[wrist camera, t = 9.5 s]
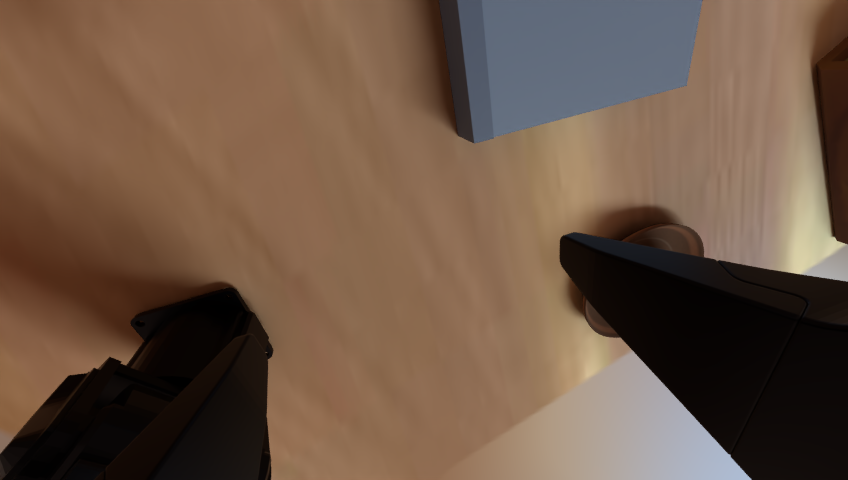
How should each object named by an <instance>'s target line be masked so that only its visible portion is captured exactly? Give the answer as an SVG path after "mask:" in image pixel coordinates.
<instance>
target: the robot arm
mask: <svg viewBox="0 0 848 480" xmlns="http://www.w3.org/2000/svg"><path fill="white" fill-rule="evenodd" d="M560 263H561V265H562V267H563V269H564V270H565V271H566V273H567V274H568V275H569V277H570V278H571V279H572V281H573V282H574V283H575V285H576V286H577V287H578V289H579V290H580V291H581V293H582V294H583V295H584V297H585V298H586V299H587V301H588V302H589V303H590V304H591V306H592V307H593V308H594V309H595V310H596V311H597V312H598V314H599V315H600V316H601V317H602V318H603V319H604V320H605V321H606V322H607V323H608V324H609V325H610V327H611V328H612V329H613V330H614V331H615V332H616V333H617V334H618V335H619V336H620V337H621V338H622V340H623V341H624V342H625V343H626V344H627V345H628V346H629V347H630V348H631V349H632V350H633V351H634V352H635V354H637V356H638V357H639V358H640V359H641V360H642V361H643V362H644V363H645V364H646V365H647V366H648V368H649V369H650V370H651V371H652V372H653V373H654V374H655V375H656V376H657V377H658V378H659V379H660V380H661V382H662V383H663V384H664V385H665V386H666V387H667V388H668V389H669V390H670V391H671V392H672V393H673V395H674V396H675V397H676V398H677V399H678V400H679V401H680V402H681V403H682V404H683V405H684V407H686V409H687V410H688V411H689V412H690V413H691V414H692V415H693V416H694V417H695V418H696V420H698V422H699V423H700V424H701V425H702V426H703V427H704V428H705V429H706V430H707V431H708V432H709V433H710V435H711V436H712V437H713V438H714V439H715V440H716V441H717V442H718V443H719V444H720V445H721V447H722V448H723V449H724V450H725V451H726V452H727V453H728V454H730V455H731V458H732V459H733V460H734V461H735V462H736V463H737V464H738V465H739V466H740V467H741V468H742V470H743V471H744V472H745V473H746V474H747V475H748V476H749V477H750V478H751V479H752V480H848V282H846V281H840V280H833V279H827V278H819V277H813V276H807V275H800V274H794V273H788V272H782V271H775V270H769V269H763V268H758V267H752V266H747V265H741V264H736V263H731V262H726V261H721V260H719V261H716V260H715V259H710V258H705V257H700V256H695V255H690V254H684V253H679V252H674V251H669V250H664V249H659V248H654V247H649V246H643V245H638V244H633V243H628V242H623V241H618V240H613V239H607V238H602V237H597V236H592V235H587V234H582V233H577V232H573V233H570V234H567V235H563V236H562V237H561V239H560ZM226 294H230V295H232V296H233V297H228V296H227V295H226ZM140 321H143V322H144V323H142V322H140ZM131 326H132V327H133V328H134V329H135V330H136V332H137V333H138V334H139V335H140V336H141V337H142V338H143V340H144V342H143V343H142V345H141V346H140V347H139V349H138V350H137V351H136V353H135V354H134V356H133V357H132V358H131V360H130V361H129V363H128V364H127V365H126V366H125V365H123V364H120V363H121V362H122V361H119V360H116V359H114V358H111V357H109V358H108V359H107V360H106V361H105V362H104V363H103V364H102V365H101V366H100V367H99V368H98V369H96V368H93V369H92V370H91V371H90V372H88V373H85V374H77V375H69V376H68V377H67V378H66V379H65V380H64V381H63V382H62V383H61V384H60V385H59V387H58V388H57V389H56V390H55V391H54V392H53V393H52V394H51V396H50V397H49V398H48V399H47V400H46V401H45V402H44V403H43V405H42V406H41V407H40V408H39V409H38V410H37V411H36V412H35V414H34V415H33V416H32V417H31V418H30V419H29V420H28V422H27V423H26V424H25V425H24V426H23V427H22V429H21V430H20V431H19V432H18V433H17V435H16V436H15V437H14V438H13V439H12V440H11V442H10V443H9V444H8V445H7V447H6V448H5V449H4V450H3V451H2V452H1V454H0V480H271V456H270V448H269V437H268V425H267V417H266V415H267V384H268V359H269V358H271V357H272V354H273V348H272V346H271V344H270V343H269V341H268V339H269V337H268V335H267V333H266V332H265V330H264V328H263V327H262V325H261V323H260V322H259V320H258V319H257V317H256V315H255V314H254V313H253V312H251V311H250V310H249V309H248V307H247V305H246V304H245V302H244V300H243V299H242V297H241V296H240V294H239V292H238V291H237V290H236V289H234V288H225V289H221V290H218V291H215V292H211V293H208V294H204V295H201V296H198V297H194V298H191V299H187V300H184V301H181V302H177V303H174V304H170V305H167V306H164V307H160V308H157V309H153V310H150V311H147V312H143V313H140V314H137V315H136V316H135V317H134V318H133V319H132V320H131ZM265 352H268V353H265Z"/></svg>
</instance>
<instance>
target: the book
mask: <svg viewBox="0 0 848 480" xmlns="http://www.w3.org/2000/svg"><path fill="white" fill-rule="evenodd" d="M439 4H440V12H441V19H442V26H443V33H444V40H445V47H446V54H447V61H448V68H449V75H450V82H451V89H452V96H453V103H454V110H455V117H456V124H457V131H458V136H460V137H462V138H464V139H466V140H468V141H470V142H472V143H478V142H482V141H486V140H489V139H493V138H494V137H496V136H500V135H504V134H507V133H511V132H515V131H519V130H522V129H526V128H530V127H534V126H537V125H541V124H545V123H549V122H552V121H556V120H560V119H564V118H567V117H571V116H575V115H579V114H582V113H586V112H590V111H594V110H597V109H601V108H605V107H608V106H612V105H616V104H620V103H623V102H627V101H631V100H635V99H638V98H642V97H646V96H650V95H653V94H657V93H661V92H665V91H668V90H672V89H676V88H680V87H683V86H687V80H688V75H689V69H690V64H691V59H692V53H693V48H694V43H695V37H696V32H697V26H698V21H699V16H700V10H701V5H702V0H439Z"/></svg>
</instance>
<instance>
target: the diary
mask: <svg viewBox="0 0 848 480" xmlns="http://www.w3.org/2000/svg"><path fill="white" fill-rule="evenodd" d="M817 74H818V83H819V93H820V102H821V111H822V121H823V130H824V139H825V149H826V158H827V168H828V177H829V186H830V196H831V205H832V214H833V224H834V233H835V238H836V240H837V241H839V242H842V243H845V244H848V37H847V38H845V39H844V40H843V41H842V42H841V43H840V44H839V45H837V46H836V47H835V48H834V49H833V50H832V51H830V52H829V53H828V54H827V55H826V56H825V57H824V58H822V59H821V60H820V61H819V62H818V63H817Z"/></svg>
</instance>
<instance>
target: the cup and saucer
mask: <svg viewBox="0 0 848 480" xmlns="http://www.w3.org/2000/svg"><path fill="white" fill-rule="evenodd" d="M622 241H623V242H628V243H633V244H638V245H643V246H649V247H654V248H659V249H664V250H669V251H674V252H679V253H684V254H690V255H695V256H700V257H704V247H703V243H702V240H701V238H700V236H699V235H698V234H697V233H696V232H695V231H694V230H693V229H691V228H689V227H687V226H683V225H679V224H672V223H665V224H658V225H653V226H650V227H647V228H645V229H642V230H640V231H637V232H635V233H633V234H631V235H630V236H628V237H626V238H625V239H623V240H622ZM583 312H584V316H585V319H586V320H587V322H588V324H589V325H590V327H591V328H592V329H593V330H594V331H595V332H597V333H598V334H600V335H602V336H606V337H614V338H617V337H620V336H619V335H618V334H617V333H616V332H615V331H614V330H613V329H612V328H611V327H610V325H609V324H608V323H607V322H606V321H605V320H604V319H603V318H602V317H601V316H600V315H599V314H598V312H597V311H596V310H595V309H594V308H593V307H592V306H591V304H590V303H589V302H588V301H587V299H586V298H585V297H583Z"/></svg>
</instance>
